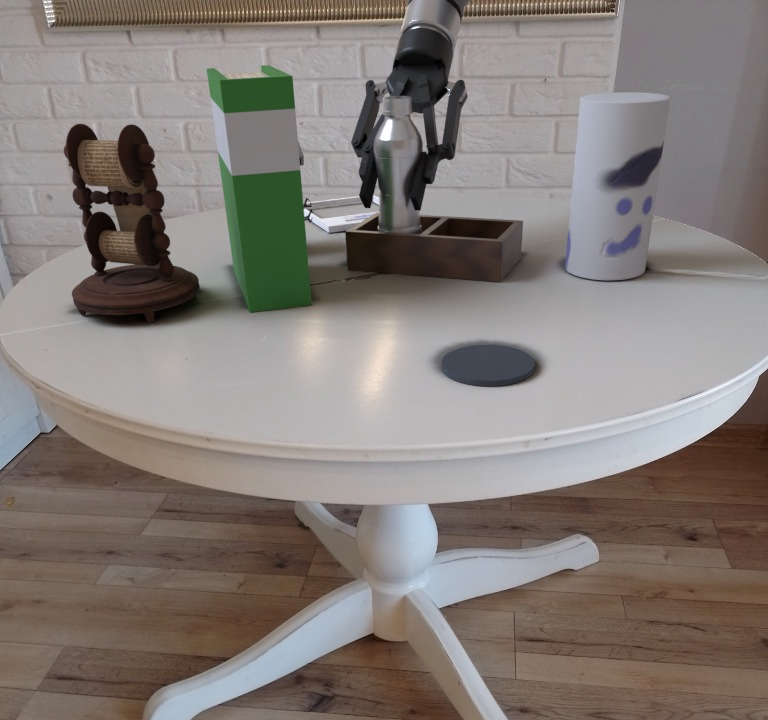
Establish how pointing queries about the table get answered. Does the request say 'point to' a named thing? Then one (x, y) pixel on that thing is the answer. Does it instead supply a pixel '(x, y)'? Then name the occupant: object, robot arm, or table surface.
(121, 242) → the scroll
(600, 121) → the container
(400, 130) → the silver bottle
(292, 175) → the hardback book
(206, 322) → the table surface
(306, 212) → the photo frame
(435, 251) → the wooden compartment box
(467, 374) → the coaster
